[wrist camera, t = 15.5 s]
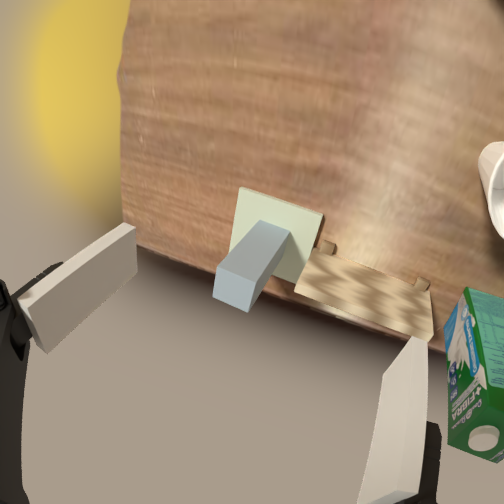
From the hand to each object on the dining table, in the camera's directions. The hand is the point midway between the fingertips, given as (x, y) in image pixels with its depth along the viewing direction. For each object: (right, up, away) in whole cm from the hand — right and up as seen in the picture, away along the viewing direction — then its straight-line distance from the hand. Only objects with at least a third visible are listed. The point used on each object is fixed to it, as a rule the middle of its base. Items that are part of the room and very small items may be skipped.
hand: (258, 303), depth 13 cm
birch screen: (+18, -1, +33) cm, 38 cm away
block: (+3, +4, +36) cm, 37 cm away
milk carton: (+37, -8, +29) cm, 47 cm away
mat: (+3, +5, +37) cm, 37 cm away
